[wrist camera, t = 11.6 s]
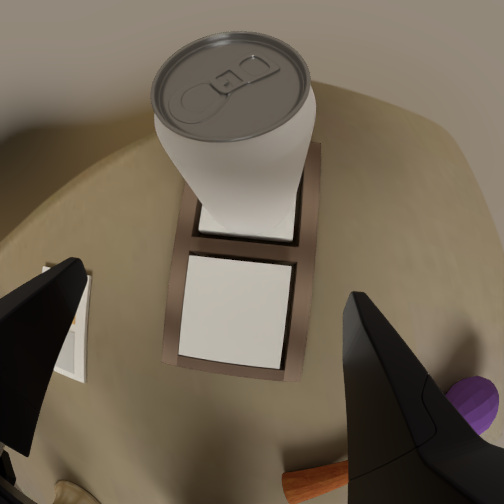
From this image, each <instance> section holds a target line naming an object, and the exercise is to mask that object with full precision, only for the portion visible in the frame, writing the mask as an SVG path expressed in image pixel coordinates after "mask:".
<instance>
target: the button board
mask: <svg viewBox="0 0 504 504" xmlns="http://www.w3.org/2000/svg"><path fill="white" fill-rule="evenodd" d="M320 166H321V143H316V142H310V144H309V148H308V152H307V156H306V160H305V163H304V167H303V171H302V182H301V197H300V211H299V224H298V236H297V247H290V246H280V245H271V244H261V243H251V242H241V241H232V240H222V239H211V238H201V237H199V230H198V229H199V223H200V216H201V210H202V203H201V202H200V200H199V199H198V197H197V196H196V195H195V193H194V192H193V190H192V189H191V188H190V186H189V185H188V183H187V182H186V181H185V185H184V190H183V195H182V201H181V206H180V212H179V218H178V223H177V230H176V236H175V242H174V249H173V256H172V263H171V270H170V278H169V286H168V295H167V304H166V313H165V324H164V335H163V347H162V361H161V363H165V364H169V365H174V366H179V367H184V368H189V369H195V370H200V371H206V372H212V373H218V374H225V375H232V376H239V377H247V378H255V379H264V380H274V381H286V382H301V375H302V369H303V362H304V355H305V348H306V340H307V332H308V324H309V316H310V307H311V298H312V288H313V278H314V267H315V256H316V243H317V228H318V212H319V193H320ZM196 254H198V255H207V256H217V257H226V258H235V259H244V260H254V261H263V262H273V263H282V264H292V265H295V269H294V279H293V289H292V298H291V307H290V316H289V324H288V332H287V340H286V348H285V355H284V363H283V364H280V368H279V369H276V368H266V367H257V366H248V365H240V364H233V363H226V362H219V361H213V360H207V359H201V358H195V357H189V356H184V355H179V342H180V331H181V321H182V311H183V302H184V294H185V285H186V277H187V269H188V262H189V255H191V256H196Z"/></svg>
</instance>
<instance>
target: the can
mask: <svg viewBox="0 0 504 504" xmlns="http://www.w3.org/2000/svg"><path fill="white" fill-rule="evenodd" d="M151 104H152V107H153V110H154V112H155V114H154V121H155V129H156V133H157V136H158V138H159V140H160V142H161V144H162V146H163V148H164V149H165V151H166V153H167V154H168V156H169V157H170V159H171V160H172V162H173V163H174V165H175V166H176V168H177V169H178V170H179V172H180V173H181V175H182V176H183V178H184V179H185V181H186V182H187V183H188V185H189V186H190V188H191V189H192V190H193V192H194V193H195V195H196V196H197V197H198V199H199V200H200V202H201V203H202V204H203V206H204V207H205V209H206V210H207V211H208V213H209V214H210V215H211V216H212V217H213V219H214V220H215V221H216V222H218V223H219V224H220V225H221V226H223V227H224V228H226V229H228V230H230V231H232V232H235V233H239V234H258V233H262V232H265V231H267V230H270V229H272V228H273V227H275V226H276V225H278V224H279V223H280V222H281V221H282V220H283V219H284V218H285V217H286V216H287V214H288V213H289V211H290V209H291V207H292V205H293V202H294V199H295V196H296V193H297V189H298V186H299V182H300V178H301V175H302V171H303V167H304V163H305V160H306V156H307V152H308V148H309V144H310V140H311V136H312V132H313V127H314V122H315V116H316V101H315V96H314V93H313V90H312V87H311V78H310V72H309V69H308V67H307V65H306V63H305V61H304V59H303V58H302V57H301V55H300V54H299V53H298V52H297V51H296V50H295V49H293V48H292V47H291V46H290V45H288V44H286V43H285V42H283V41H281V40H279V39H277V38H274V37H272V36H269V35H265V34H261V33H256V32H247V31H232V32H223V33H217V34H213V35H209V36H206V37H203V38H200V39H198V40H195V41H193V42H191V43H189V44H188V45H186V46H184V47H182V48H181V49H179V50H178V51H177V52H175V53H174V54H173V55H172V56H171V57H169V58H168V59H167V61H166V62H165V63H164V64H163V65H162V66H161V68H160V69H159V71H158V72H157V74H156V76H155V78H154V81H153V84H152V88H151Z"/></svg>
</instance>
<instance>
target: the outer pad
mask: <svg viewBox="0 0 504 504" xmlns="http://www.w3.org/2000/svg"><path fill="white" fill-rule="evenodd" d="M295 205H296V196H295V199H294V202H293V205H292V207H291V209H290V211H289V213H288V214H287V216H286V217H285V218H284V219H283V220H282V221H281V222H280V223H279V224H278V225H276V226H275V227H273V228H272V229H270V230H267V231H265V232H262V233H258V234H239V233H235V232H232V231H230V230H228V229H226V228H224V227H223V226H221V225H220V224H219V223H218V222H216V221H215V220H214V219H213V217H212V216H211V215H210V214H209V213H208V211H207V210H206V209H205V207H204V206H203V204H202V210H201V216H200V223H199V229H198V230H199V231H200V232H201V233H202V234H208V235H218V236H228V237H238V238H248V239H258V240H268V241H277V242H287V243H291V242H292V239H293V230H294V218H295Z"/></svg>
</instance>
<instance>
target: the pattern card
mask: <svg viewBox="0 0 504 504" xmlns="http://www.w3.org/2000/svg"><path fill="white" fill-rule="evenodd" d="M48 269H50V267H45V266H43V270H42V273H43V272H45V271H47V270H48ZM87 276H88V281H87V284H86V287H85V290H84V292H83V295H82V298H81V301H80V303H79V306H78V309H77V312H76V315H75V318H74V320H73V322H72V325H71V327H70V329H69V332H68V334H67V336H66V339H65V341H64V344H63V346H62V349H61V351H60V354H59V356H58V359H57V362H56V364H55V367H54V371H56V372H58V373H61V374H63V375H65V376H67V377H70V378H72V379H75V380H77V381H80V382H82V383H86V382H87V381H86V348H87V324H88V310H89V298H90V288H91V280H92V276H89V275H87Z"/></svg>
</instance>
